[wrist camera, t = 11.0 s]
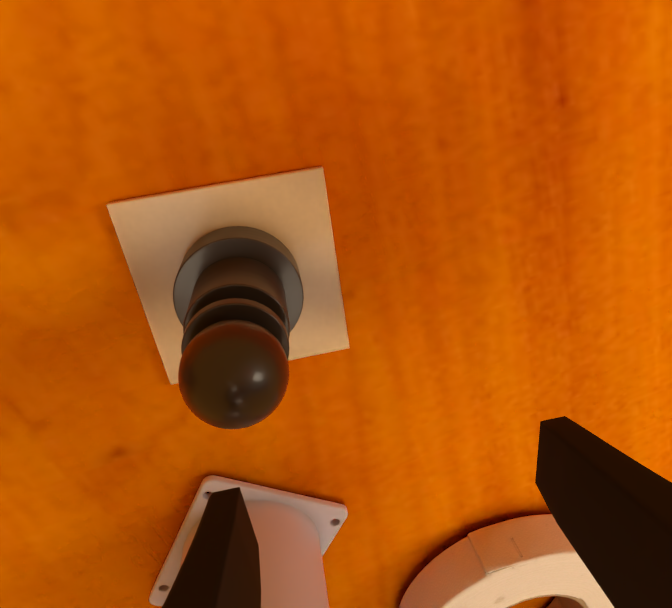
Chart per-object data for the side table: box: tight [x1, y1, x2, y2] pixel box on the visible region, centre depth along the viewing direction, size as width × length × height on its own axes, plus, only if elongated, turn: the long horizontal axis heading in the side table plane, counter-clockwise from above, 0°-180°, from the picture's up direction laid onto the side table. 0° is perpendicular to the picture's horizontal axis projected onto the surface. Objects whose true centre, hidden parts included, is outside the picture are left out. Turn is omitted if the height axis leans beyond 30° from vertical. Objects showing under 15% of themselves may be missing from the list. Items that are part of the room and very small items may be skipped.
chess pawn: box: [173, 226, 304, 429], centre depth 15 cm, size 5×5×8 cm
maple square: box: [106, 166, 349, 384], centre depth 19 cm, size 8×8×1 cm
